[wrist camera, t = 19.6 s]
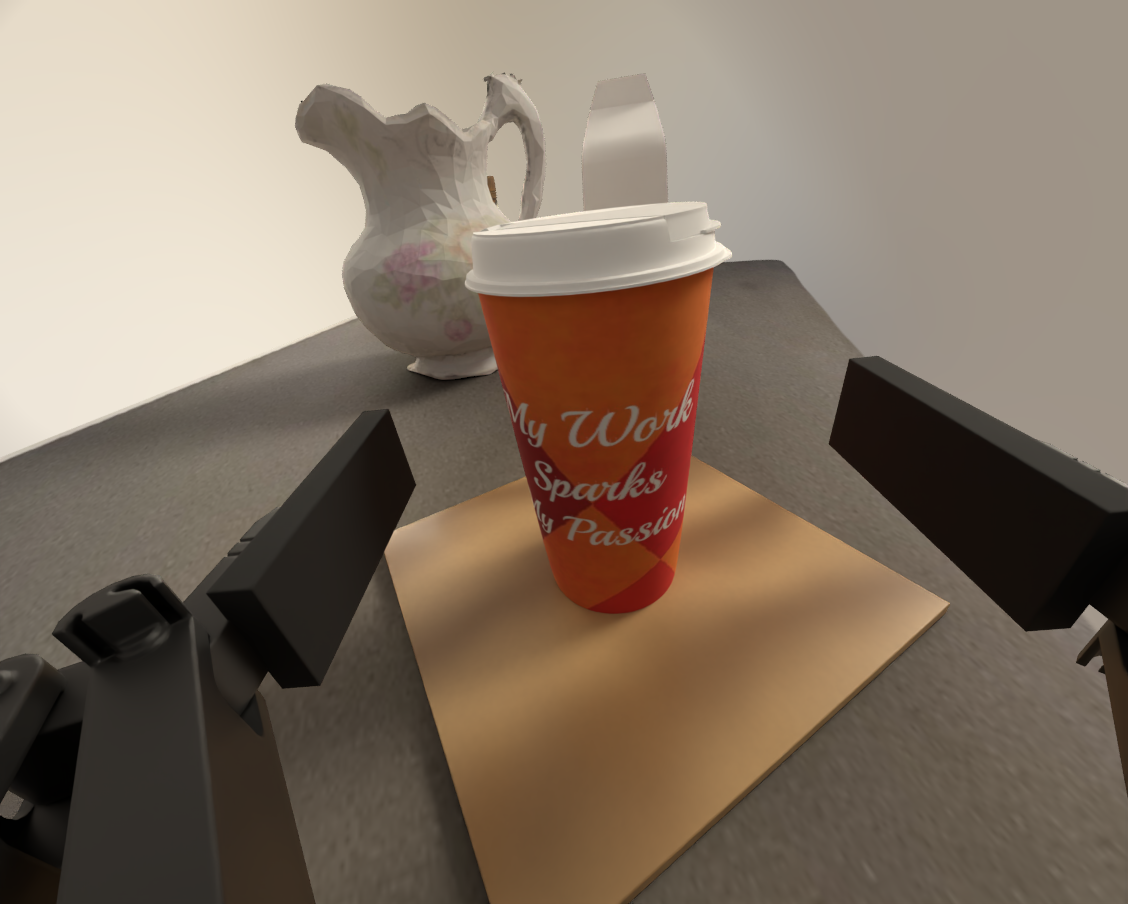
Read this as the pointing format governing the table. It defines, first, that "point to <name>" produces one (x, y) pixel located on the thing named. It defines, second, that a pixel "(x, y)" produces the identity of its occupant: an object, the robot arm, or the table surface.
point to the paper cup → (603, 382)
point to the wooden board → (633, 679)
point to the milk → (623, 147)
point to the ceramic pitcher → (423, 216)
